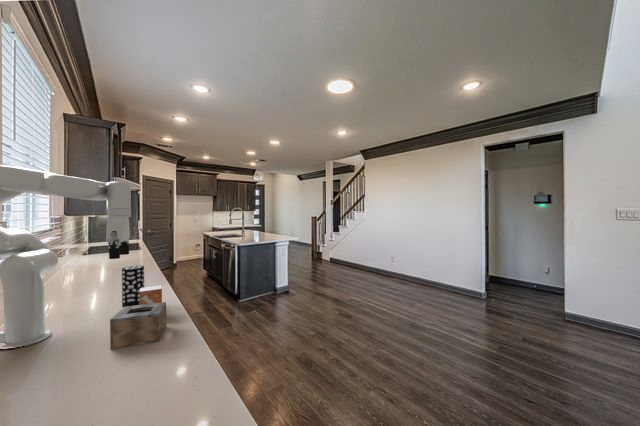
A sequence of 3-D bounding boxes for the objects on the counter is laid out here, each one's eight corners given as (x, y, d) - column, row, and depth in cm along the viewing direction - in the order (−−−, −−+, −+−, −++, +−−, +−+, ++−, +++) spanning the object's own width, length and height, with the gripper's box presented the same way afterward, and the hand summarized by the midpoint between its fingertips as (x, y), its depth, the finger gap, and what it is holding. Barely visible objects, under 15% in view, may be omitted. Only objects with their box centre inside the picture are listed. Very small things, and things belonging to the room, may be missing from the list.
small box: (139, 323, 104) (138, 291, 104) (140, 317, 109) (139, 287, 109) (162, 318, 109) (162, 288, 108) (162, 313, 114) (161, 284, 114)
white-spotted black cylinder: (118, 312, 115) (117, 268, 115) (137, 305, 123) (136, 265, 123) (129, 315, 112) (129, 270, 112) (148, 308, 120) (148, 266, 120)
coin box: (110, 349, 84) (110, 319, 84) (123, 333, 96) (123, 306, 95) (158, 341, 89) (158, 313, 89) (166, 326, 101) (166, 301, 100)
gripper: (116, 213, 106) (116, 253, 107) (96, 213, 90) (97, 261, 90) (137, 213, 109) (137, 252, 109) (122, 213, 93) (122, 259, 93)
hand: (119, 256), depth 100 cm, fingers open, 9 cm apart
